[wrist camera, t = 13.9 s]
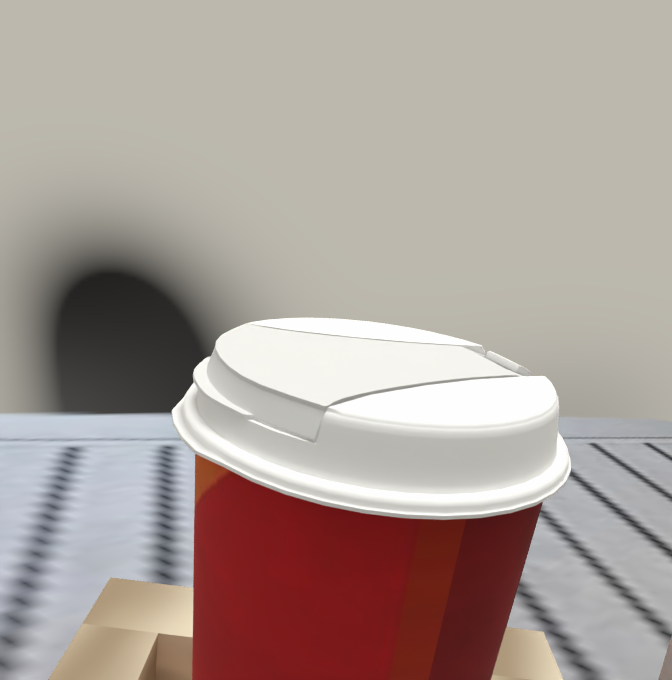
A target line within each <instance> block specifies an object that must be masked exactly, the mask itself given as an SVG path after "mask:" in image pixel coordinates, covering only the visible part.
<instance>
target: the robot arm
mask: <svg viewBox="0 0 672 680" xmlns="http://www.w3.org/2000/svg"><path fill="white" fill-rule="evenodd" d="M659 680H672V636H671V639H670V643H669V646H668V649H667V653H666V656H665V659H664V663H663V666H662V670H661V673H660V676H659Z"/></svg>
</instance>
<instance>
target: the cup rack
mask: <svg viewBox="0 0 672 680" xmlns="http://www.w3.org/2000/svg"><path fill="white" fill-rule="evenodd" d="M192 650H193V588H189V587H181V586H173V585H165V584H157V583H149V582H141V581H134V580H126V579H118V578H110V579H109V581H108V583H107V584H106V586H105V588H104V589H103V591H102V593H101V594H100V596H99V597H98V599H97V601H96V602H95V604H94V606H93V607H92V609H91V611H90V612H89V614H88V615H87V617H86V619H85V620H84V622H83V624H82V625H81V627H80V629H79V630H78V632H77V633H76V635H75V637H74V638H73V640H72V642H71V643H70V645H69V647H68V648H67V650H66V651H65V653H64V655H63V656H62V658H61V660H60V661H59V663H58V665H57V666H56V668H55V669H54V671H53V673H52V674H51V676H50V678H49V679H48V680H192ZM491 680H563V678H562V675H561V673H560V671H559V668H558V666H557V664H556V661H555V659H554V656H553V654H552V652H551V649H550V647H549V645H548V642H547V640H546V637H545V635H544V633H543V632H540V631H532V630H524V629H516V628H508V627H506V629H505V633H504V636H503V640H502V643H501V647H500V650H499V654H498V657H497V660H496V664H495V667H494V671H493V674H492V678H491Z"/></svg>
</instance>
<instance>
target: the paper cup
mask: <svg viewBox="0 0 672 680" xmlns="http://www.w3.org/2000/svg"><path fill="white" fill-rule="evenodd" d="M482 347H483V346H482V345H478V344H475V343H472V342H469V341H466V340H462V339H458V338H454V337H451V336H447V335H442V334H438V333H433V332H429V331H424V330H419V329H414V328H409V327H403V326H396V325H391V324H383V323H376V322H368V321H357V320H347V319H331V318H284V319H271V320H263V321H256V322H251V323H247V324H244V325H241V326H239V327H236V328H234V329H232V330H230V331H228V332H226V333H224V334H222V335H221V336H220V337H219V338H218V340H217V341H216V346H215V348H214V351H213V353H212V355H211V357H207V358H206V359H204V360H203V361H202V362H201V363H200V364H198V366H197V367H196V368H195V370H194V373H193V380H194V383H193V384H192V386H191V387H190V389H189V390H188V391H187V393H186V395H185V396H184V398H183V399H182V400H181V401H180V402H179V403H178V404H177V405H176V406H175V407H174V409H173V410H172V418H173V425H174V427H175V429H176V431H177V433H178V434H179V436H180V438H181V440H182V441H183V442H184V443H185V444H186V445H187V446H188V447H189V448H190V449H191V450H192V451H193V452H194V453H195V516H194V585H193V650H192V680H491V678H492V674H493V671H494V667H495V664H496V660H497V657H498V654H499V650H500V647H501V643H502V640H503V636H504V633H505V629H506V626H507V623H508V619H509V616H510V612H511V609H512V605H513V602H514V599H515V595H516V592H517V588H518V585H519V581H520V578H521V575H522V571H523V568H524V564H525V561H526V558H527V554H528V551H529V547H530V544H531V540H532V537H533V534H534V530H535V527H536V523H537V520H538V516H539V513H540V510H541V506H542V503H543V501H545V500H547V499H549V498H551V497H552V496H554V495H555V494H556V493H557V492H558V491H559V490H560V489H561V488H562V487H563V486H564V485H565V484H566V481H567V479H568V477H569V474H570V471H571V464H570V456H569V454H568V449H567V447H566V444H565V442H564V440H563V438H562V436H561V435H560V434H559V433H558V421H559V399H558V396H557V394H556V390H555V388H554V387H553V385H552V383H551V382H550V381H549V380H548V379H547V378H546V377H545V376H529V375H530V374H531V372H530V371H529V370H528V369H526V368H524V367H523V366H520V365H518V364H516V363H514V362H512V361H510V360H508V359H506V358H504V357H502V356H500V355H498V354H496V353H494V352H492V351H488V352H487V353H486V354H485V350H484V349H482Z"/></svg>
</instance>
